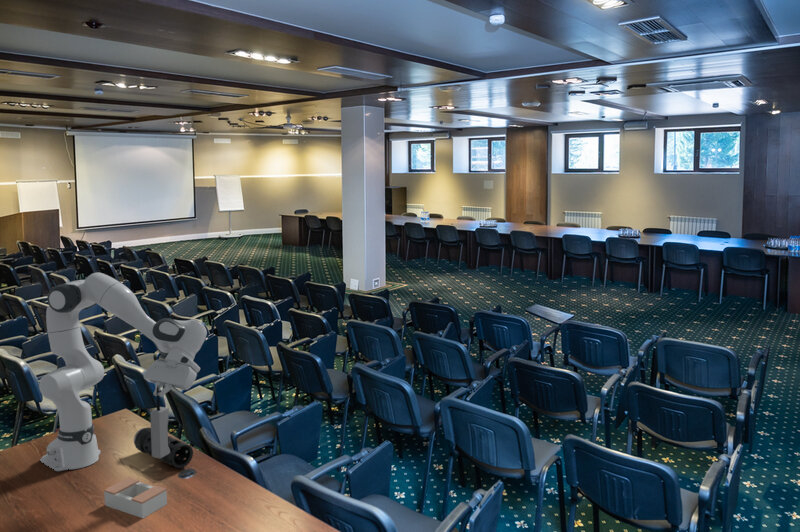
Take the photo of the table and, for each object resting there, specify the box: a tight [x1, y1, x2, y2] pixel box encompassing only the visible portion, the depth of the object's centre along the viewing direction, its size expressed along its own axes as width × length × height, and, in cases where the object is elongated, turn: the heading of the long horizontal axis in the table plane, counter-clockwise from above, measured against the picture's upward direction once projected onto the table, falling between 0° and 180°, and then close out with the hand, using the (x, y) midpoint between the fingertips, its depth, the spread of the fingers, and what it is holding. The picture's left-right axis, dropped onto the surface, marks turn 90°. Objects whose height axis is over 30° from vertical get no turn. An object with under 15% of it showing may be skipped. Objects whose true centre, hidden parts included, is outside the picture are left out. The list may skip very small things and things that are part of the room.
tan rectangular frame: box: [103, 477, 168, 519], centre depth 208 cm, size 18×10×6 cm, turn 64°
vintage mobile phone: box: [149, 387, 170, 460], centre depth 215 cm, size 4×5×25 cm
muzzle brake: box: [133, 427, 194, 470], centre depth 242 cm, size 10×28×10 cm, turn 53°
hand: (157, 395), depth 214 cm, fingers closed on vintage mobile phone
